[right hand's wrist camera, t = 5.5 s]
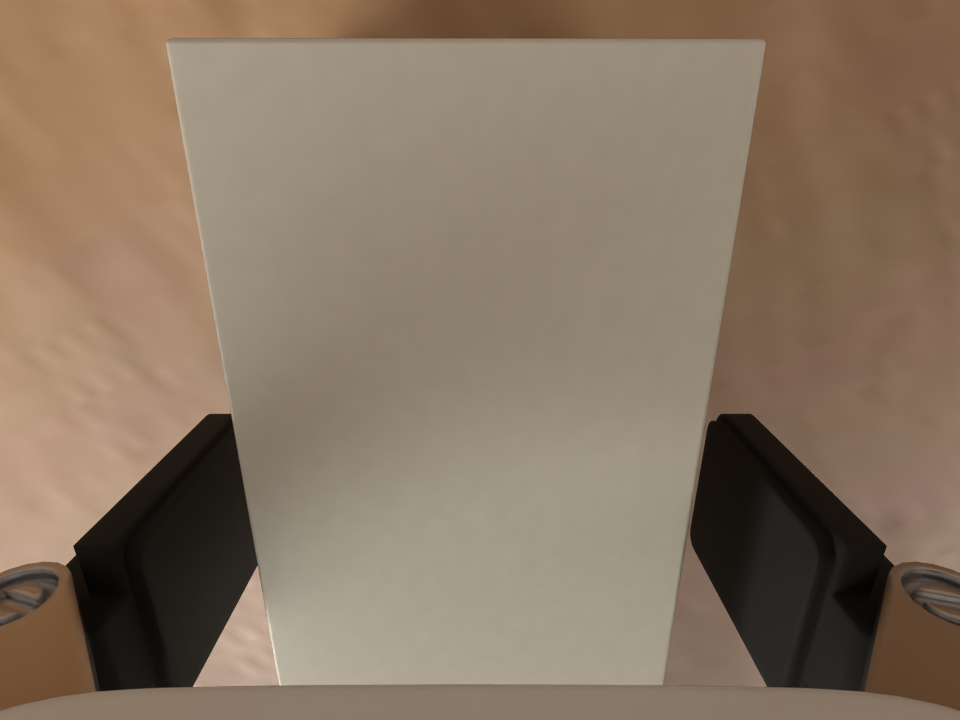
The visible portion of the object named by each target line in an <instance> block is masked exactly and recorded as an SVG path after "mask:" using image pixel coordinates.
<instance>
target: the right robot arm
mask: <svg viewBox="0 0 960 720" xmlns="http://www.w3.org/2000/svg"><path fill="white" fill-rule="evenodd" d="M690 537H691V542H692V546H693V548H694V550H695V552H696V554H697V556H698V558H699V560H700V561H701V563H702V565H703V567H704V569H705V571H706V573H707V575H708V576H709V578H710V580H711V582H712V584H713V586H714V588H715V590H716V591H717V593H718V595H719V597H720V599H721V601H722V603H723V605H724V606H725V608H726V610H727V612H728V614H729V616H730V618H731V620H732V621H733V623H734V625H735V627H736V629H737V631H738V633H739V635H740V636H741V638H742V640H743V642H744V644H745V646H746V648H747V650H748V651H749V653H750V655H751V657H752V659H753V661H754V663H755V664H756V666H757V668H758V670H759V672H760V674H761V676H762V678H763V679H764V681H765V683H766V685H767V687H733V686H683V685H544V684H417V685H277V686H227V687H193V685H194V683H195V681H196V679H197V678H198V676H199V674H200V672H201V670H202V668H203V666H204V664H205V663H206V661H207V659H208V657H209V655H210V653H211V651H212V650H213V648H214V646H215V644H216V642H217V640H218V638H219V636H220V635H221V633H222V631H223V629H224V627H225V625H226V623H227V621H228V620H229V618H230V616H231V614H232V612H233V610H234V608H235V606H236V605H237V603H238V601H239V599H240V597H241V595H242V593H243V591H244V590H245V588H246V586H247V584H248V582H249V580H250V578H251V576H252V575H253V573H254V571H255V569H256V567H257V565H258V563H257V557H256V552H255V546H254V540H253V535H252V529H251V523H250V518H249V512H248V506H247V501H246V495H245V489H244V484H243V478H242V472H241V467H240V461H239V455H238V450H237V444H236V438H235V433H234V427H233V421H232V416H231V414H209V415H207V416H206V417H205V418H204V419H203V420H202V421H201V422H200V423H199V424H198V425H197V426H196V427H195V428H194V429H192V430H191V431H190V432H189V433H188V434H187V435H186V436H185V437H184V438H183V439H182V440H181V441H180V442H179V443H178V444H177V445H176V446H175V447H174V448H173V449H172V450H171V451H170V452H169V453H168V454H167V455H166V456H165V457H164V458H163V459H162V460H161V461H160V462H159V463H158V464H157V465H156V466H155V467H154V468H153V469H152V470H151V471H150V472H148V473H147V474H146V475H145V476H144V477H143V478H142V479H141V480H140V481H139V482H138V483H137V484H136V485H135V486H134V487H133V488H132V489H131V490H130V491H129V492H128V493H127V494H126V495H125V496H124V497H123V498H122V499H121V500H120V501H119V502H118V503H117V504H116V505H115V506H114V507H113V508H112V509H111V510H110V511H109V512H108V513H107V514H106V515H104V516H103V517H102V518H101V519H100V520H99V521H98V522H97V523H96V524H95V525H94V526H93V527H92V528H91V529H90V530H89V531H88V532H87V533H86V534H85V535H84V536H83V537H82V538H81V539H80V540H79V541H78V542H77V543H76V544H75V545H74V549H75V552H76V556H75V557H74V558H73V559H72V560H71V561H70V562H69V563H68V564H67V565H66V566H64V565H62V564H59V563H54V562H39V563H32V564H26V565H23V566H19V567H16V568H12V569H9V570H6V571H4V572H2V573H0V720H960V573H958V572H956V571H954V570H951V569H948V568H944V567H941V566H937V565H934V564H928V563H921V562H906V563H901V564H898V565H896V566H894V565H893V564H892V563H891V562H890V561H889V560H888V559H887V558H886V557H885V556H884V552H885V549H886V545H885V544H884V543H883V542H882V541H881V540H880V539H879V538H878V537H877V536H876V535H875V534H874V533H873V532H872V531H871V530H870V529H869V528H868V527H867V526H866V525H865V524H864V523H863V522H862V521H861V520H860V519H859V518H858V517H857V516H856V515H854V514H853V513H852V512H851V511H850V510H849V509H848V508H847V507H846V506H845V505H844V504H843V503H842V502H841V501H840V500H839V499H838V498H837V497H836V496H835V495H834V494H833V493H832V492H831V491H830V490H829V489H828V488H827V487H826V486H825V485H824V484H823V483H822V482H821V481H820V480H819V479H818V478H817V477H816V476H815V475H814V474H813V473H812V472H810V471H809V470H808V469H807V468H806V467H805V466H804V465H803V464H802V463H801V462H800V461H799V460H798V459H797V458H796V457H795V456H794V455H793V454H792V453H791V452H790V451H789V450H788V449H787V448H786V447H785V446H784V445H783V444H782V443H781V442H780V441H779V440H778V439H777V438H776V437H775V436H774V435H773V434H772V433H771V432H770V431H769V430H768V429H766V428H765V427H764V426H763V425H762V424H761V423H760V422H759V421H758V420H757V419H756V418H755V417H754V416H753V415H751V414H721V415H719V416H718V418H717V420H716V421H711V422H710V423H709V425H708V429H707V434H706V440H705V446H704V452H703V458H702V464H701V470H700V476H699V481H698V487H697V493H696V499H695V505H694V511H693V517H692V523H691V529H690Z"/></svg>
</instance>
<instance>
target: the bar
mask: <svg viewBox="0 0 960 720" xmlns="http://www.w3.org/2000/svg"><path fill="white" fill-rule="evenodd" d="M765 46H766V44H765V41H764V40H762V39H628V38H171V39H169V40H167V42H166V47H167V52H168V58H169V64H170V69H171V75H172V81H173V86H174V92H175V98H176V103H177V109H178V115H179V120H180V126H181V132H182V137H183V143H184V149H185V154H186V160H187V166H188V171H189V177H190V183H191V189H192V194H193V200H194V206H195V211H196V217H197V223H198V228H199V234H200V240H201V245H202V251H203V257H204V262H205V268H206V274H207V279H208V285H209V291H210V296H211V302H212V308H213V313H214V319H215V325H216V330H217V336H218V342H219V347H220V353H221V359H222V364H223V370H224V376H225V382H226V387H227V393H228V399H229V404H230V410H231V416H232V421H233V427H234V433H235V438H236V444H237V450H238V455H239V461H240V467H241V472H242V478H243V484H244V489H245V495H246V501H247V506H248V512H249V518H250V523H251V529H252V535H253V540H254V546H255V552H256V557H257V563H258V569H259V574H260V580H261V586H262V592H263V597H264V603H265V609H266V614H267V620H268V626H269V631H270V637H271V643H272V648H273V654H274V660H275V665H276V671H277V677H278V682H279V685H417V684H544V685H663V683H664V676H665V670H666V664H667V658H668V651H669V645H670V639H671V633H672V626H673V620H674V614H675V608H676V601H677V595H678V589H679V583H680V577H681V570H682V564H683V558H684V552H685V545H686V539H687V533H688V527H689V520H690V514H691V508H692V502H693V495H694V489H695V483H696V477H697V470H698V464H699V458H700V452H701V446H702V439H703V433H704V427H705V421H706V414H707V408H708V402H709V396H710V389H711V383H712V377H713V371H714V364H715V358H716V352H717V346H718V339H719V333H720V327H721V321H722V315H723V308H724V302H725V296H726V290H727V283H728V277H729V271H730V265H731V258H732V252H733V246H734V240H735V233H736V227H737V221H738V215H739V208H740V202H741V196H742V190H743V184H744V177H745V171H746V165H747V159H748V152H749V146H750V140H751V134H752V127H753V121H754V115H755V109H756V102H757V96H758V90H759V84H760V77H761V71H762V65H763V59H764V52H765Z"/></svg>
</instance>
